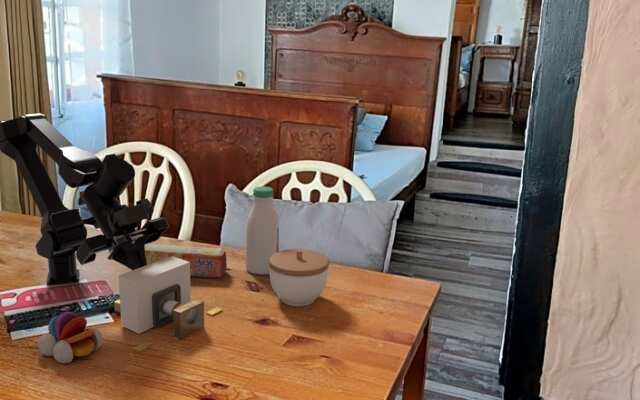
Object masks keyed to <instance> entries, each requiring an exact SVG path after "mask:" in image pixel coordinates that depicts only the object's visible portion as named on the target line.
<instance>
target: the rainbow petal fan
mask: <svg viewBox="0 0 640 400" xmlns="http://www.w3.org/2000/svg"><path fill="white" fill-rule="evenodd" d="M87 324H88V321H87V319H86V318H85V317H82V316H78V314H76V313H75V312H72V311H66V312H63V313H62V314H60V315H55V316H53V317H52V318H51V319H50V321H49V323H48V329H47V330H48V332H46V333H43V334H42V336H40V338H39V340H38V343H37V348H38V350H39V352H40V353H41V354H42V355H44V356H47V357H51V356H52V357H53V358H54V359H55V361H57V362H58V363H61V364H69V363H71V362H72V361H73V359H74V357H85V356H88V355H90V354H92V352H93V351H97V350H99V348H101V346H102V344H103V342H104V336H103V334H102V332H101V330H99V329H97V328H96V327H95V328H94V327H89V328H87Z"/></svg>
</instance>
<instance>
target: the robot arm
mask: <svg viewBox="0 0 640 400" xmlns="http://www.w3.org/2000/svg"><path fill="white" fill-rule="evenodd" d="M37 147H39V148H40V149H41V150H42V151H43V152H44V153H45V154H46V155H47V156H49V157H50V158H51V160H53V162H55V164H57V172H58V175H59V176H60V177H61V179H62V180H63V182H64V184H66V185H67V186H68V187H69V188H71V189H76V188H81V187H85V189H84V190H83V191H80V192H79V198H78V199H77V205H78V206H84V205H85V206H86V207H87V209H88V211H89V213H90V214H91V216H92V217H93V219H94V221H95V222H94V224H93V227H94V229H95V230H97V229H99V230H100V231H101V233H100V234H97V235H93V236H91V237H88V230H87V227H86V223H85V221H84V220H83V219H82V218H81V215H80V213H79V211H78V209H77V208H71V209H70V208H68V207H66V206H65V204H64V203H63V201H62V199H61V197H60V195H59V193H58V190H57V188H56V187H55V185H54V183H53V180H52V179H51V177H50V174H49V173H48V171H47V169H46V166H45V165H44V163H43V161H42V159H41V157H40V155H39V153H38V151H37V149H38V148H37ZM0 152H1V153H2V154H4V155H5V156H7V157H8V158H10V159H12V160H13V161H14V163H15V165H16V167H17V168H18V170H19V173H20V175H21V176H22V179H23V181H24V183H25V184H26V187H27V189H28V191H29V194H30V195H31V197H32V199H33V201H34V202H35V204H36V206H37V209H38V211H39V213H40V215H41V223H40V228H39V229H40V234H41V236H40V238H39V240H38V241H37V243H35V249H36V253H37V255H38V256H40V257H42V258H45V259H47V265H48V272H47V276H46V277H47V278H46V285H48V286H49V285H50V286H51V285H59V283H60V284H68V283H67V282H70V283H78V282H79V281H80V269H78V268H77V261H78V263H79V264H80V266H83V265H86V264H90V263H93V262H94V261H95V260H96V257H97V253H100V252H103V251H108V253H109V255H108V256H107V259H108V260H109V261H111V260H112V261H115V262H117V263H119V264H120V265H123V266H125V267H126V268H128V269H129V270H130V271H133V270H135V269H138V268H141V267H144V266H146V265H147V262H146V256H145V244H152V243H154V242H156V241H158V240H160V238H161V237H162V236H163V235H164V234H165V233H166V232H167V231H168V229H169V228H170V227H171V226H170V225H169V223H168V222H167V220H166V218H164V217H156V218H153V219H150V215H151V214H154V211H155V210H154V207H153V204H152V202H151V201H150V200H149V199H148V198H143V199H139V200H137V201H136V202H135V205H131V206H128V205H127V204H121V202H120V201H119V200H118V197H120V196H121V195H122V194H123V193H124V192H125V191H126V189H127V187H128V186H130V184H131V182H132V181H133V180H134V178H135V177H136V169H135V168H134V166H133V165H132V164H131V163H129V162H128V161H127V160H125V159H123V158H120V157H118V156H117V155H116V153H110V154H106V155H105V156H104V158H103V160H101V158H99V157H98V156H97V155H95V154H94V153H92V152H90V151H88V150H85V149H81V148H79V147H77V146H75V145H74V144H73V143H71V142H70V140H68V138H67V137H66V136H64V135H63V134H62V133H61V131H59V130H58V129H57V128H56V127H55V126H54V125H52V124H51V122H49V120H48V118H47V116H46V115H45V114H44V113H43V114H42V113H40V112H39V113H28V114H22V115H21V116H18V117H16V118H12V119H3V120H2V119H1V120H0ZM86 186H87V187H86ZM148 219H149V220H148ZM144 220H147V221H145V223H144V225H143V226H142V227H141V228H138V227H139V226H141V222H142V221H144ZM136 228H138V229H136Z"/></svg>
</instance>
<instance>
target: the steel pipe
mask: <svg viewBox="0 0 640 400" xmlns="http://www.w3.org/2000/svg"><path fill="white" fill-rule="evenodd" d="M113 304H114V312H116V313H119V314H121V311H120V298H119V299H118V300H115V301H113ZM223 311H224V310H223V309H222V308H219V307H214V308H212V309H211V310H208V311H206V315H208V316H211V317H213V316H215V315H217V314H219V313H221V312H223ZM159 312H160V313H163V314H165V315H168V316H170V317H172V318H173V320H172V322H173V338H175V337H176V339H177V338H179V339H182V340H184V339H186V338H188V337H189V335H190V336H191V334H192V335H193V333H194V332H195V333H197V332H199V331H201V330H202V329H205V301H203V300H201V299H198V298H196V299H194V300H192V301H191V302H189V303H187V304H183V303H179V302H176V301H174V300H171V299H169V298H166V297H164V296H163V297H160V298H159ZM195 333H194V334H195ZM187 336H188V337H187ZM185 337H186V338H185ZM183 338H184V339H183ZM179 339H178V340H179ZM151 347H154V344H153V343H151V342H149V341H145V342H143V343H140V344H139V345H136V346H135V347H133V349H132V350H134V351H135V352H137V353H142V352H143V351H145V350H148V349H150V348H151Z"/></svg>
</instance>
